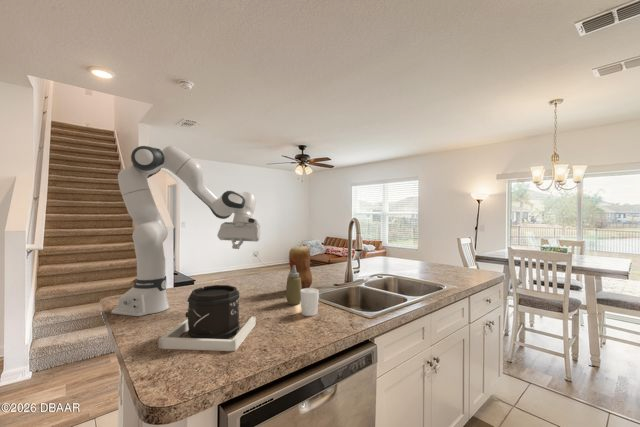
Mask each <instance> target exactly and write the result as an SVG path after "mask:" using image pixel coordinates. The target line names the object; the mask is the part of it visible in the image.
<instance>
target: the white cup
mask: <svg viewBox="0 0 640 427" xmlns="http://www.w3.org/2000/svg"><path fill="white" fill-rule="evenodd" d="M300 292H301V302H300V307H301V314H302V316H305V317H312V316H313V317H314V316H317V315H318V310H319V308H318V307H319V296H320V294H319V293H320V292H319V289H317V288H314V287H309V288H305V289H301V290H300Z"/></svg>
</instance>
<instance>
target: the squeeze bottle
mask: <svg viewBox="0 0 640 427" xmlns="http://www.w3.org/2000/svg"><path fill="white" fill-rule="evenodd" d="M288 275H289V278H288V277H287V278H288V279H287V278H286V285H285V286H286V287H285V299H286V301H287V304H289V305H291V306H292V305H295V306H296V305H299V304H301V292H300V290H301V289H302V286H301V278H300V277H299V273H297V271H296V267H295V265H293V267H292V272H291V273H289V272H288Z"/></svg>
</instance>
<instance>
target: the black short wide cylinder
mask: <svg viewBox="0 0 640 427" xmlns="http://www.w3.org/2000/svg"><path fill="white" fill-rule="evenodd" d="M239 299H240V291H239V290H238V288H237V287H236V286H232V285H229V284H227V285H226V284H224V285H223V284H213V285H206V286H203V287H201V286H200V287H198V288H196V289H195V288H194V289H193V290H192V291H191V292H190V295H189V296H188V299H187V302H188V308H187V309H188V310H187V311H186V312H185V318H187V319H188V327H189V329H188V330H187V331H186V332H187V335H188V336H189V338H202V339H231V338H234V337H235V336H236V335H237V333H238V332H239V331H240V321H239V319H240V303H239V302H240V301H239Z"/></svg>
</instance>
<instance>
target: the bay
mask: <svg viewBox="0 0 640 427" xmlns="http://www.w3.org/2000/svg"><path fill="white" fill-rule="evenodd" d="M256 318H257V317H256V316H251V317H250V318H249V319H248V321H247V322H245V324H244V325H243V326H242V328H241V329H239V330H238V331H237V333H236V335H235V336H233V337H232V339H231V338H230V339H202V338H190V337H181V336H182V335H183V334H184V333H186V332H188V330H189V327H188V318H187V319H185V320H184V321H183V322H181V323H180V324H178V325H177V326H175V327H174V328H172V329H171V330H169V331H168V332H166V333H165V334H164V335H163V336H161V337H160V338H159V339H158V349H159V350H160V349H161V350H163V349H164V350H189V351H190V350H192V351H193V350H194V351H217V352H218V351H221V352H236V351H237V350H238V348H239V347H240V346H241V344H242V343H243V341H244V340H245V339H246V338H247V337H248V335H249V334H250V333H251V331H252V330H253V328H254V327H255V326H256V324H257V323H256V322H257V319H256Z"/></svg>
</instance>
